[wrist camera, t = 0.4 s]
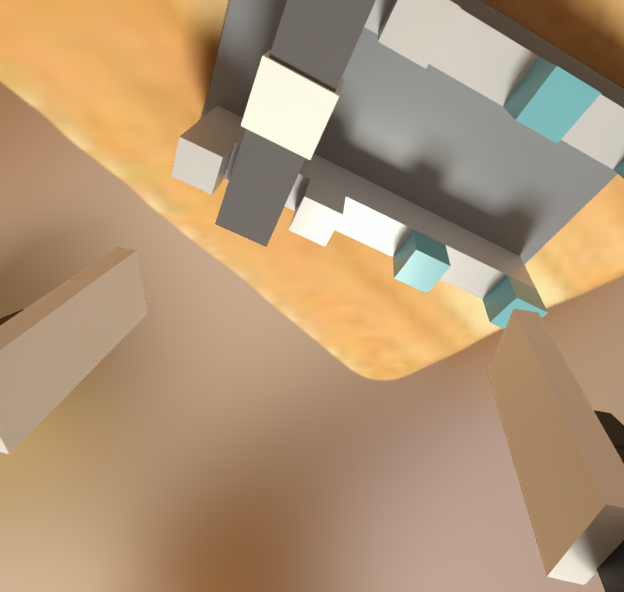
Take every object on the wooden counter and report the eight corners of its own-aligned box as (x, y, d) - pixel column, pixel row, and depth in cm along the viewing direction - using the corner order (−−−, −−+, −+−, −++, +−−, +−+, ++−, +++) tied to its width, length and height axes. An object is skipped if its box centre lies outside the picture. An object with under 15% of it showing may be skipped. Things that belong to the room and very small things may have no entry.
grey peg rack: (266, -132, 24) (221, -176, 17) (665, 115, 29) (754, 159, 22) (199, 140, 35) (155, 182, 28) (496, 283, 40) (520, 347, 33)
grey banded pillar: (331, -115, 20) (321, -135, 16) (410, -66, 21) (416, -74, 17) (228, 196, 32) (209, 224, 28) (281, 220, 32) (269, 250, 29)
